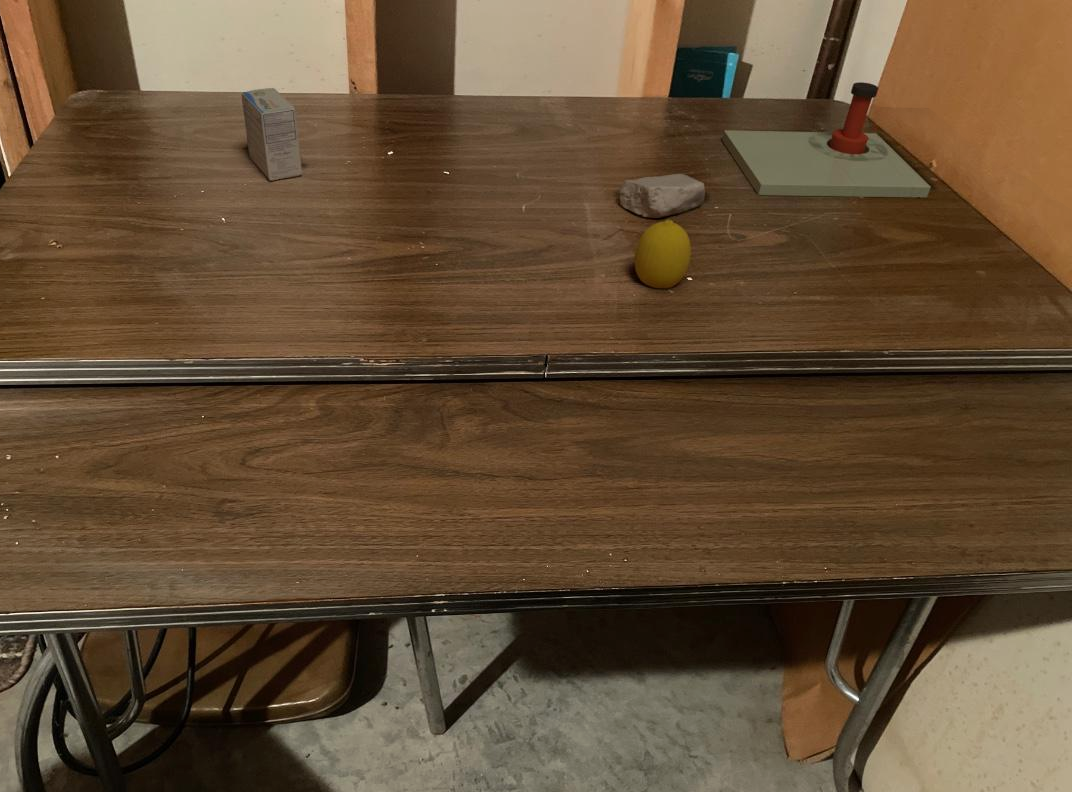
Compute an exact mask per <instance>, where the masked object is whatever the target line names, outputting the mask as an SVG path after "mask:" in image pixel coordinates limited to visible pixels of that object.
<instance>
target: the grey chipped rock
mask: <svg viewBox="0 0 1072 792" xmlns="http://www.w3.org/2000/svg"><path fill="white" fill-rule="evenodd" d="M705 189H706V188H705V184H704V182H702V181H700V180H697V179H695V178H693V177H690V176H688V175H686V174H684V173H677V174H676V173H672V174H668V175H665V174H664V175H661V176H657V175H656V176H644V177H643V178H642V177H640V178H637V179H636V178H635V179H625V180H624V181H623V184H622V187H621V189H620V190H619V202H620V203H619V204H620V206H621V207H622V208H624V209H626V210H628V211H630V212H632V213H634V214H636V215H637V216H638V215H639V216H641V217H643V218H651V219H660V218H664V217H669V216H674V215H677V214H681V213H685V212H687V211H689V210H693V209H696V208H698V207H700V206H701V205H702V204H703V203H704V200H705V197H706V195H705V194H706V193H705V192H706V190H705Z"/></svg>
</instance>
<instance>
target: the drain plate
mask: <svg viewBox="0 0 1072 792" xmlns="http://www.w3.org/2000/svg"><path fill="white" fill-rule="evenodd" d="M833 132H834V131H783V130H781V131H780V130H779V131H777V130H775V131H774V130H730V129H729V130H728V129H725V130H723V134H722V139H721V141H722V143H723V144H724V146H725V148H726V149H727V150H728V152H729V153H730V155H731V157H732V158H733V159H734V161H735V162H736V164H737V166H738V167H739V168H740V170H741V171H742V173H743V174H744V176H745V177H746V179H747V181H748V182H749V184H750V185H751V186H752V188H753V189H754V191H755V192H756V194H757V196H779V197H781V196H783V197H789V196H790V197H844V198H845V197H846V198H847V197H852V198H853V197H854V198H856V197H857V198H910V199H911V198H912V199H913V198H917V197H918V198H917V199H921V198H922V199H923V198H924V199H927V198H928V195H929V194H930V190H931V188H932V187H931V185H930V184H928V182H927V181H925V179H924V178H923V177H921V176H920V174H918V172H916V171H915V169H913V168H912V167H911V166H910V165H909V164H908V162H906V161H905V160H904V158H902V157H901V156H900V155H899V154H898V153H897V152H896V151H895V150H894V149H893V148H892V147H891V146H890V145H889V144H888V143H886V141H885V140H884V139H883V138H882V137H880V135H878V133H876V132H875V133H874V132H863V133H864V134H866V135H867V136H868V141H867V144H866V147H865V150H864V153H863V154H846V153H841V152H838V151H835V150H833V149H831V148H829V145H830V142H831V138H832V135H833ZM919 197H920V198H919Z"/></svg>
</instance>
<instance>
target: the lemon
mask: <svg viewBox="0 0 1072 792" xmlns="http://www.w3.org/2000/svg"><path fill="white" fill-rule="evenodd" d="M691 250H692V247H691V241H690V238H689V235H688V233H687V231H686V230H685V229H684V228H683V227H682V226H680V225H679V224H678V223H675V222H674V221H673V220H671V219H666V220H664V221H657V222H655V223H653V224H652V225H651V226H649V227H648V228H646V229H645V231H643V233H642V235H641V237H640V239H639V241H638V243H637V245H636V249H635V253H634V270H635V273H636V275H637V277H638V278H639V280H640V281H641V282H642V283H643V284H644V285H646V286H648V287H650V288H653V289H661V290H662V289H663V290H664V289H665V290H666V289H670V288H673V287H674V286H677V284H679V283H680V282H681V281H682V279H683V278H684V277H685V275H686V273H687V271H688V270H689V266H690V262H691V254H692V251H691Z"/></svg>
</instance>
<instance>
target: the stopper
mask: <svg viewBox="0 0 1072 792" xmlns="http://www.w3.org/2000/svg"><path fill="white" fill-rule="evenodd" d="M878 91H879V87H878V86H877V85H875V84H873V83H869V82H863V81H862V82H854V83H853V84H852V87H851V91H850V93H851V95H852V98H851V102H850V104H849V108H848V111H847V114H846V118H845V121H844V123H843V128H839V129H835V130H834V131H832V132H833V135H832V138H831V142H830V145H829V148H831V149H833V150H835V151H838V152H841V153H846V154H863V153H864V150H865V147H866V144H867V141H868V136H867V135H866V134H864V133H865V132H862V131H863V128H864V125H865V122H866V119H867V116H868V112H869V109H870V106H871V104H872V99H874V98H876V97H877V95H878Z"/></svg>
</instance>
